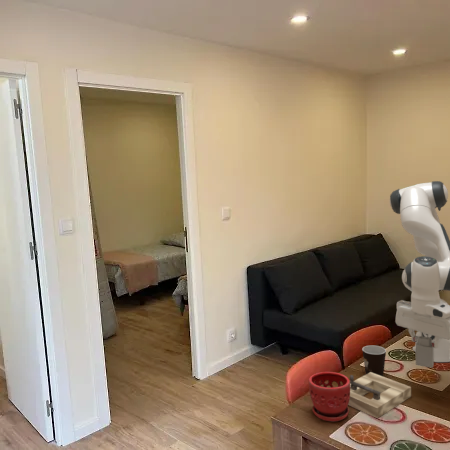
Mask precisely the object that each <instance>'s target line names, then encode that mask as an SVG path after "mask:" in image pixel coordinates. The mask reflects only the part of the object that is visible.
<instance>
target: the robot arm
mask: <svg viewBox="0 0 450 450" xmlns="http://www.w3.org/2000/svg"><path fill="white" fill-rule="evenodd" d="M448 199H449V191H448V189H447V187H446V185H445V184H444V182H443V181H440V180H439V181H438V180H433V181H431V182H423V183H416V184H415V185H410V186H407V187H404V188H398V189H395V190H393V191H392V192H391V193H390V195H389V205H390V207H391V209H392V212H394V213H395V214H397V215H400V222H401V226H402V228H403V230H405V231H406V232H407V233H408V234H410V235H412V237H413V243H414V249H415V251H417V253H419V254H421V255H422V256H417V257H415V258H414V259H413V261H410V262H409V263H407V265H406V266H405V267H404V270H402V274H401V281H402V283H403V286H404V287H405V288H406V289H408V290H409V291H410V292H411V295H410V301H406V300H405V299H401V300H398V301H397V302H396V314H395V324H396V326H398V327H401V328H404V329H408V330H407V331H408V333H409V335H410V338H411V342H414V343H415V345H414V346H412V350H413V351H414V352H415V353H416V343H417V342H418V337H419V336H421V332H422V336H423V337H427V334H428V337H429V338H431V339H432V347H433V348H434V363H450V305H449V303H448V302H447V301H446V300H444V299H443V298H441V297H440V292H439V291H448V292H450V237H449V234H448V232H447V230H446V227H445V226H444V225H443V223H441V221H440V218H439V216H438V215H439V214H438V212H440V211H441V210H442V208H443V207H444V206H446V204H447V202H448ZM437 210H438V212H437ZM415 331H416V332H415Z"/></svg>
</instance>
